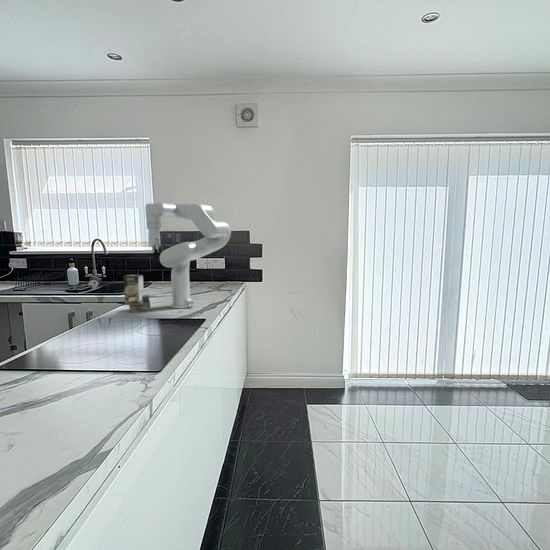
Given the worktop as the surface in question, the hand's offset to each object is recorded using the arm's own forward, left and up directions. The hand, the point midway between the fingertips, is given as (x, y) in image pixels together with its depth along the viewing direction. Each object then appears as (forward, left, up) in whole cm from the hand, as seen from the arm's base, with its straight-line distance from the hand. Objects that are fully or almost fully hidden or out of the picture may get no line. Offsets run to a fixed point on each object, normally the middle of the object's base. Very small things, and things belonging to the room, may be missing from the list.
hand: (156, 259), depth 192 cm
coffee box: (+16, +1, -25) cm, 30 cm away
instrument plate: (0, +15, -22) cm, 26 cm away
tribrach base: (0, +15, -25) cm, 29 cm away
